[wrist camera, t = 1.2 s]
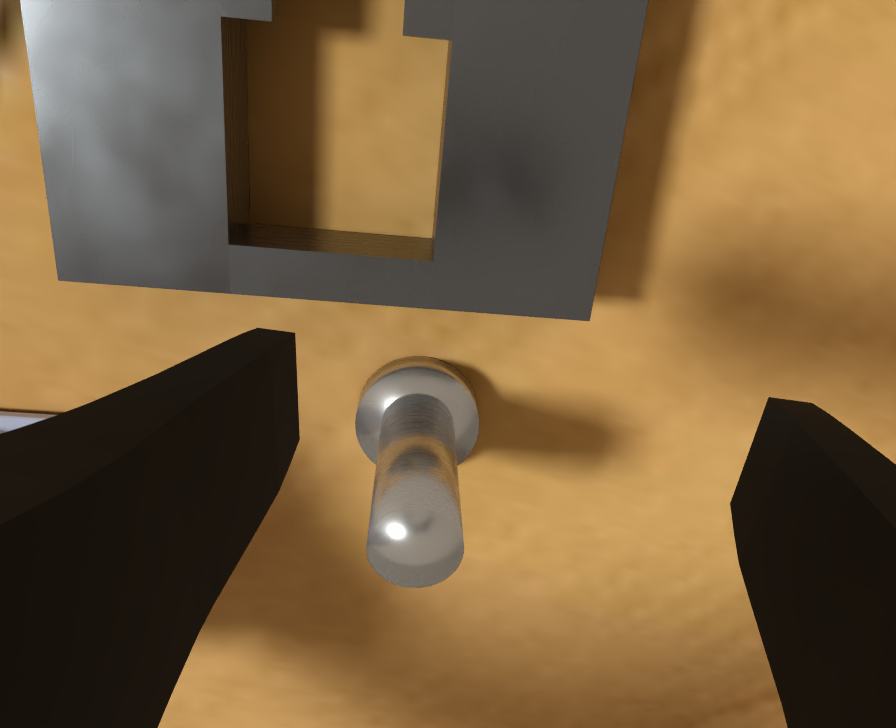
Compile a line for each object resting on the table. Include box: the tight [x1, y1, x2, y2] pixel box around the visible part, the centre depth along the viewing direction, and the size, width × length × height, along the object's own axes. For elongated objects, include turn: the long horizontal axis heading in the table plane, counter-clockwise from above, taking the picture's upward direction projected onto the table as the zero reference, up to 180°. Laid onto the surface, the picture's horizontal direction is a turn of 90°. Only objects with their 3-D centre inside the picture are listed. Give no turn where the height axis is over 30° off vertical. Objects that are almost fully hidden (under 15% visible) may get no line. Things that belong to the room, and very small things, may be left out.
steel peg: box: [355, 356, 479, 588], centre depth 22 cm, size 4×4×8 cm
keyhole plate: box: [20, 0, 649, 321], centre depth 19 cm, size 16×16×3 cm
